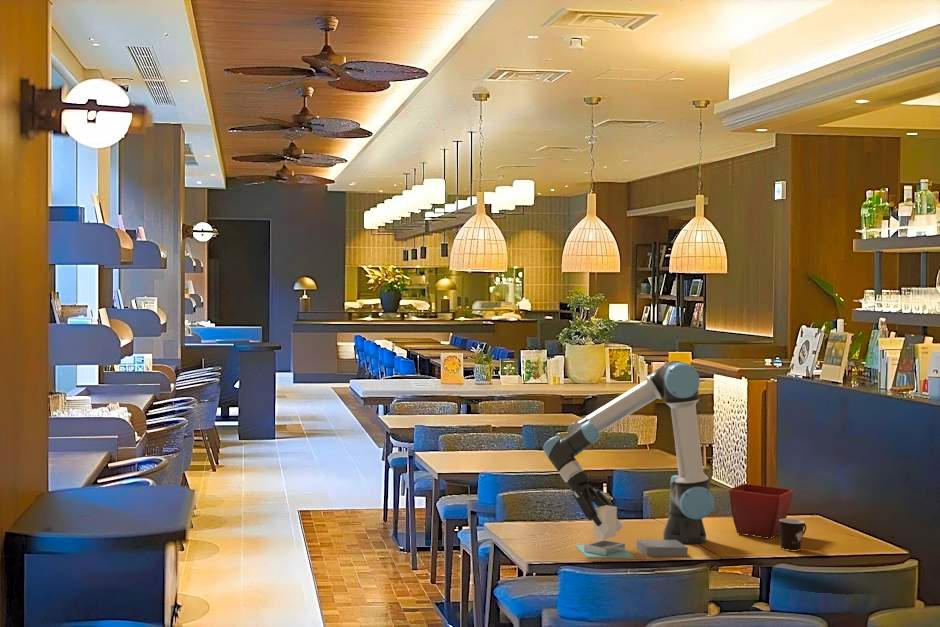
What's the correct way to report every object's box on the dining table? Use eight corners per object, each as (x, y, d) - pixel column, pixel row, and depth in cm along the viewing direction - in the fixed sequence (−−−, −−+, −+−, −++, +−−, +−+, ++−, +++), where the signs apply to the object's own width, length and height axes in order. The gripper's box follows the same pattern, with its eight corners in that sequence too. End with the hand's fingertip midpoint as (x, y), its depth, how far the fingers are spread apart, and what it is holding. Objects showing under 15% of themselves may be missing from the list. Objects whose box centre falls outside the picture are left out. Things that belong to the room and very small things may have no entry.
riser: (636, 548, 411) (637, 539, 411) (676, 548, 413) (676, 539, 413) (646, 556, 399) (647, 547, 399) (687, 556, 401) (687, 547, 401)
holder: (583, 551, 401) (584, 544, 401) (602, 546, 411) (603, 539, 411) (606, 555, 396) (606, 549, 396) (624, 550, 406) (625, 543, 406)
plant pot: (792, 534, 447) (794, 489, 447) (777, 542, 431) (779, 495, 430) (741, 527, 457) (743, 483, 456) (725, 535, 440) (728, 489, 440)
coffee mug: (784, 552, 414) (785, 523, 414) (773, 546, 422) (774, 518, 422) (815, 552, 416) (817, 523, 416) (804, 546, 425) (805, 518, 424)
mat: (575, 545, 411) (575, 544, 411) (620, 546, 413) (620, 545, 413) (587, 557, 393) (587, 556, 393) (634, 558, 396) (634, 557, 396)
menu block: (593, 537, 401) (594, 507, 401) (605, 534, 408) (606, 505, 407) (603, 539, 399) (605, 509, 399) (615, 536, 405) (617, 506, 405)
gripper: (565, 473, 400) (605, 528, 391) (597, 467, 417) (636, 520, 408) (551, 486, 404) (590, 541, 394) (583, 480, 420) (621, 533, 411)
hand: (613, 530), depth 401 cm, fingers closed on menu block, 8 cm apart
